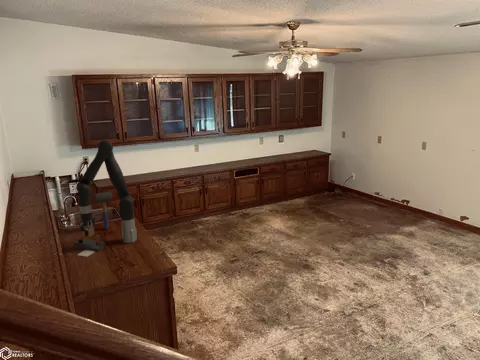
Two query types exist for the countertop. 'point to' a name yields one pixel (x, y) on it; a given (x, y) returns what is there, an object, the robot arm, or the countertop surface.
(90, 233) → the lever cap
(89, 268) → the countertop surface
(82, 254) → the felt mat
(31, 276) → the countertop surface
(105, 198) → the rubber mallet
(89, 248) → the plane body
